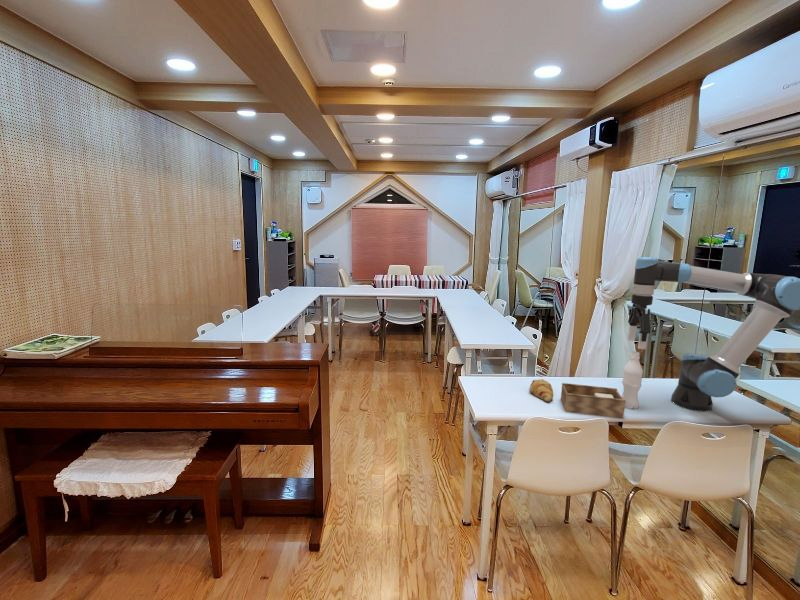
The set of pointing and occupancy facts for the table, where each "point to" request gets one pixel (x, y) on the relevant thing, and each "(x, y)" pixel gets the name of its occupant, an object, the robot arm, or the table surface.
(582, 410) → the crate
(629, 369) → the water bottle
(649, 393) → the table surface
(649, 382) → the table surface
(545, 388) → the croissant
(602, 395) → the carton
